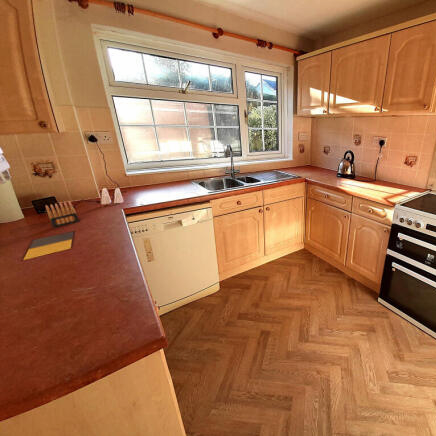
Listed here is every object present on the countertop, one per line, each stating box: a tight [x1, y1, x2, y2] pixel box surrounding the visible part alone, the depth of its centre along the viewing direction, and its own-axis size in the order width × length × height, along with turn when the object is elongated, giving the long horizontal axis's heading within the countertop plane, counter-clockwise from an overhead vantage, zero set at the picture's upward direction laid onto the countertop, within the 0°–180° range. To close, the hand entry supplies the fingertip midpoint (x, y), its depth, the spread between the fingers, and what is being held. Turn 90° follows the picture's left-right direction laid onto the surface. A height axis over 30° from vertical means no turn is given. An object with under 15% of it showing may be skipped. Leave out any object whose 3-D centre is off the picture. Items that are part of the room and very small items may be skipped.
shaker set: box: [100, 187, 125, 206], centre depth 158 cm, size 12×4×11 cm, turn 128°
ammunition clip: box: [45, 200, 80, 229], centre depth 127 cm, size 11×2×12 cm, turn 140°
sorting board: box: [22, 231, 75, 261], centre depth 105 cm, size 14×22×1 cm, turn 37°
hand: (6, 181), depth 113 cm, fingers open, 8 cm apart
